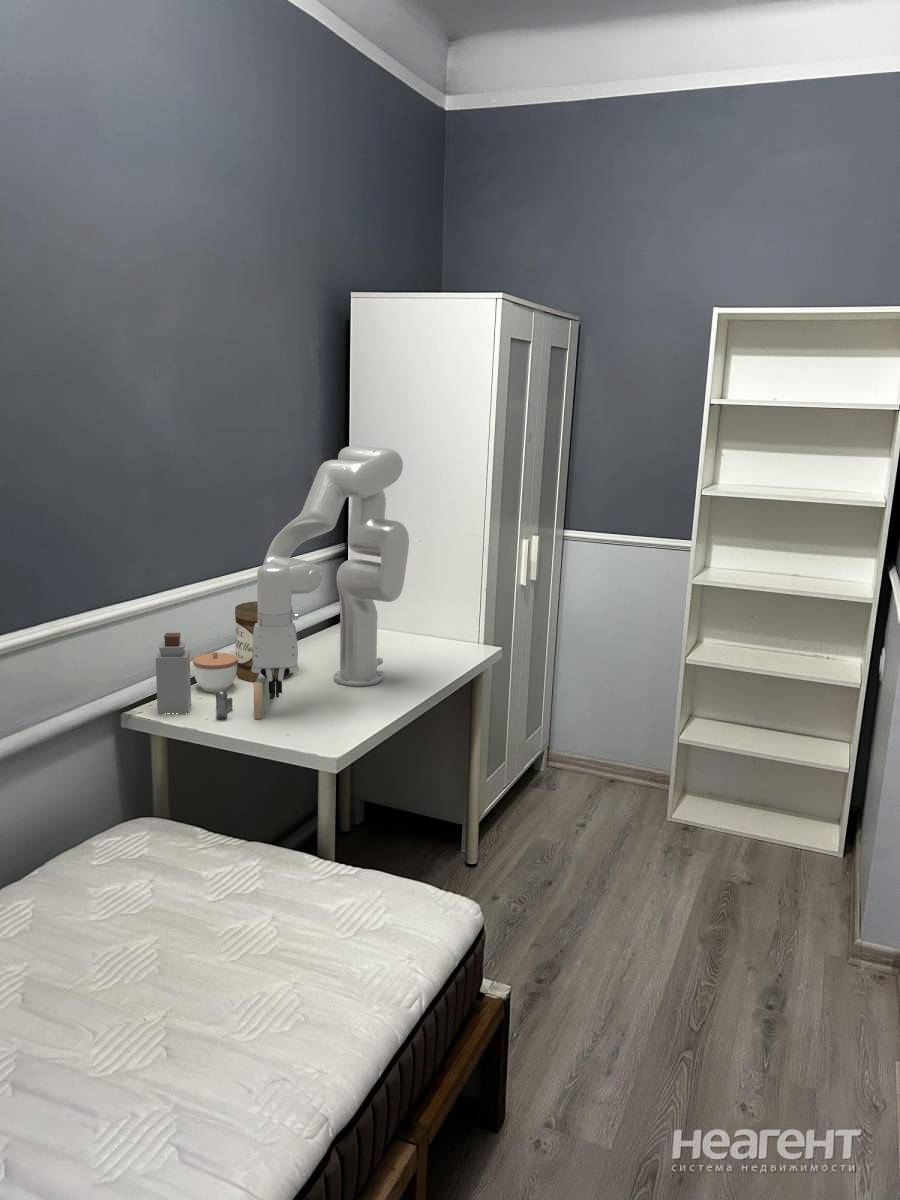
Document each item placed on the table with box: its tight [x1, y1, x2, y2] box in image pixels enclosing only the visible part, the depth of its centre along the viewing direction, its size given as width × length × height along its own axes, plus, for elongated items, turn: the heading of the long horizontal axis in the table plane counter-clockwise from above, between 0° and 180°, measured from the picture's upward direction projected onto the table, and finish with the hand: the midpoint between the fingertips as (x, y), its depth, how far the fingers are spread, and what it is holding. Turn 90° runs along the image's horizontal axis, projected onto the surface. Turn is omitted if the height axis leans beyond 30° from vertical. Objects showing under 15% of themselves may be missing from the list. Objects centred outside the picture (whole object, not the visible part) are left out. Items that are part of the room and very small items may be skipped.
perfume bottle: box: [155, 632, 192, 715], centre depth 215 cm, size 7×7×18 cm
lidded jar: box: [192, 651, 238, 693], centre depth 232 cm, size 11×11×9 cm
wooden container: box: [234, 600, 294, 683], centre depth 243 cm, size 15×15×22 cm
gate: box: [253, 674, 271, 720], centre depth 218 cm, size 14×2×8 cm, turn 3°
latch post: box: [215, 691, 233, 721], centre depth 213 cm, size 7×4×7 cm, turn 154°
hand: (275, 695), depth 215 cm, fingers closed
